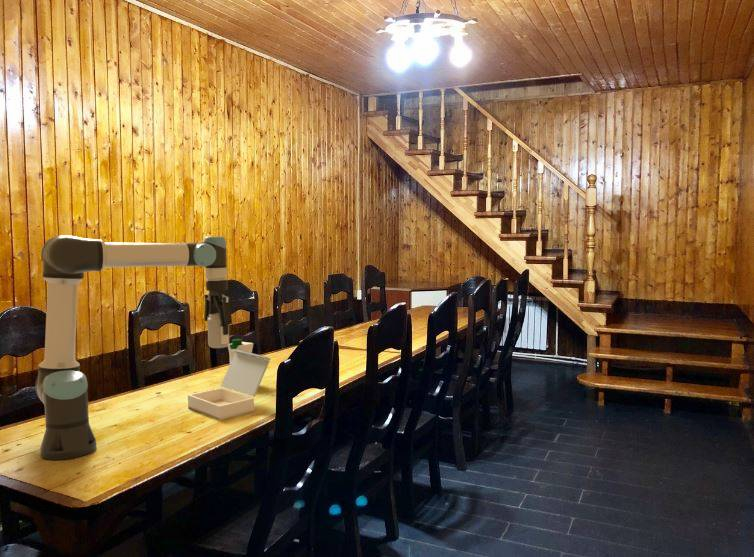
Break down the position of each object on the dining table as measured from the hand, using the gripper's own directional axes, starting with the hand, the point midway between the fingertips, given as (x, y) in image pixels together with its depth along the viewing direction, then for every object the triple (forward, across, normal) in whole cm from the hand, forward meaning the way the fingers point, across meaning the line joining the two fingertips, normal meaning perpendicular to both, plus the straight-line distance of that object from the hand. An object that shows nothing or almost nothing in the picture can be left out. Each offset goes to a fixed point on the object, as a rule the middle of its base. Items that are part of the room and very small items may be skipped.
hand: (218, 342), depth 229 cm
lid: (+12, 0, -9) cm, 15 cm away
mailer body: (+25, 0, 0) cm, 25 cm away
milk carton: (+25, +25, -26) cm, 44 cm away
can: (+2, 0, 0) cm, 2 cm away
